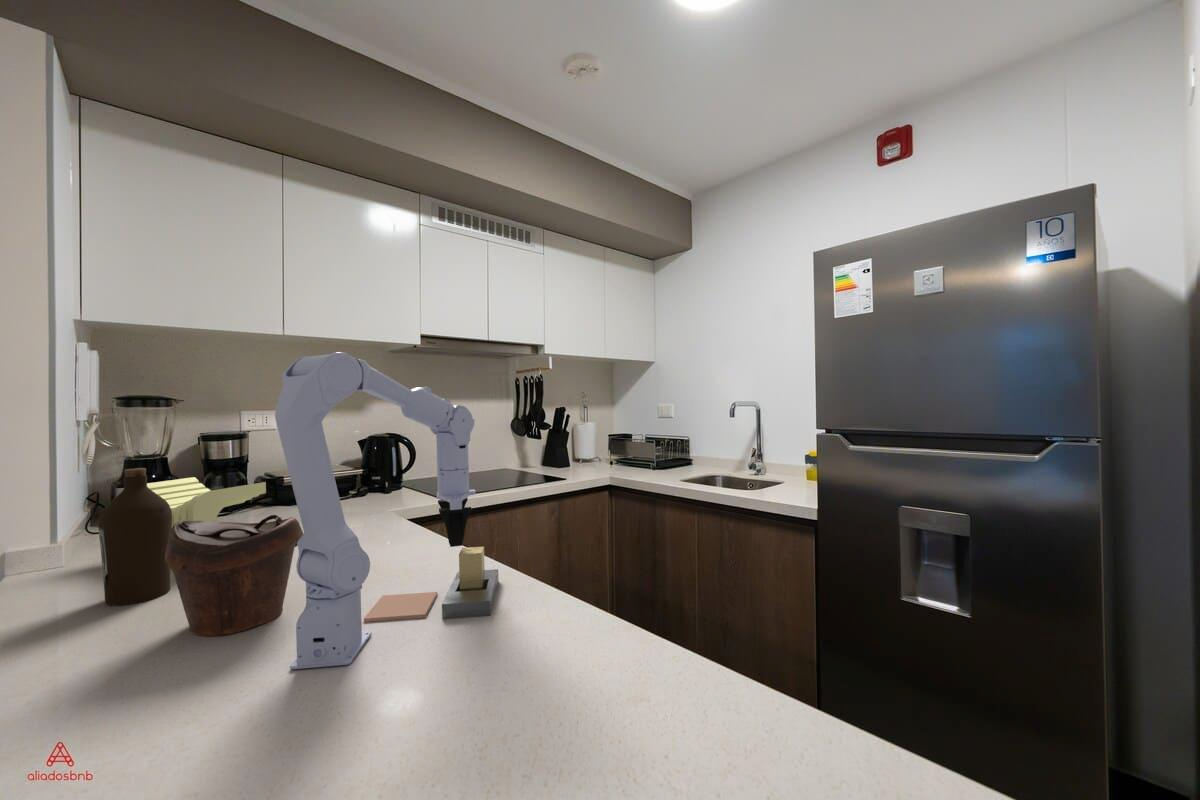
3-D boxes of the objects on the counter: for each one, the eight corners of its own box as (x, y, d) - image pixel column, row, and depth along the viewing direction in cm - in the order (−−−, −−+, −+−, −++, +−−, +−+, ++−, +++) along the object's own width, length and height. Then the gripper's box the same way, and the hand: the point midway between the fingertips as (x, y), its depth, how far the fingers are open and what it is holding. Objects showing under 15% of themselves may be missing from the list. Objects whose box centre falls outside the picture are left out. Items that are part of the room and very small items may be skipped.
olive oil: (178, 582, 106) (175, 463, 106) (168, 599, 97) (164, 469, 96) (110, 593, 100) (106, 468, 100) (91, 612, 91) (88, 474, 91)
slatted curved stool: (122, 559, 123) (120, 487, 123) (196, 541, 137) (194, 477, 137) (194, 574, 111) (192, 493, 111) (267, 553, 125) (265, 481, 125)
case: (327, 608, 90) (323, 508, 90) (190, 659, 73) (184, 536, 73) (279, 591, 100) (275, 501, 100) (148, 632, 83) (144, 524, 83)
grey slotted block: (490, 615, 86) (490, 600, 86) (442, 618, 85) (441, 604, 85) (498, 581, 101) (498, 569, 101) (458, 584, 101) (457, 571, 101)
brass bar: (482, 602, 91) (481, 553, 91) (460, 603, 91) (458, 554, 91) (485, 593, 95) (484, 546, 95) (463, 595, 95) (462, 547, 95)
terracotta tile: (425, 617, 85) (425, 614, 85) (363, 622, 84) (363, 618, 84) (437, 595, 95) (437, 591, 95) (382, 598, 94) (382, 595, 94)
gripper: (478, 472, 89) (480, 548, 89) (471, 462, 103) (473, 528, 103) (437, 475, 87) (439, 553, 87) (435, 465, 101) (436, 532, 101)
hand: (454, 540), depth 95 cm, fingers open, 7 cm apart
